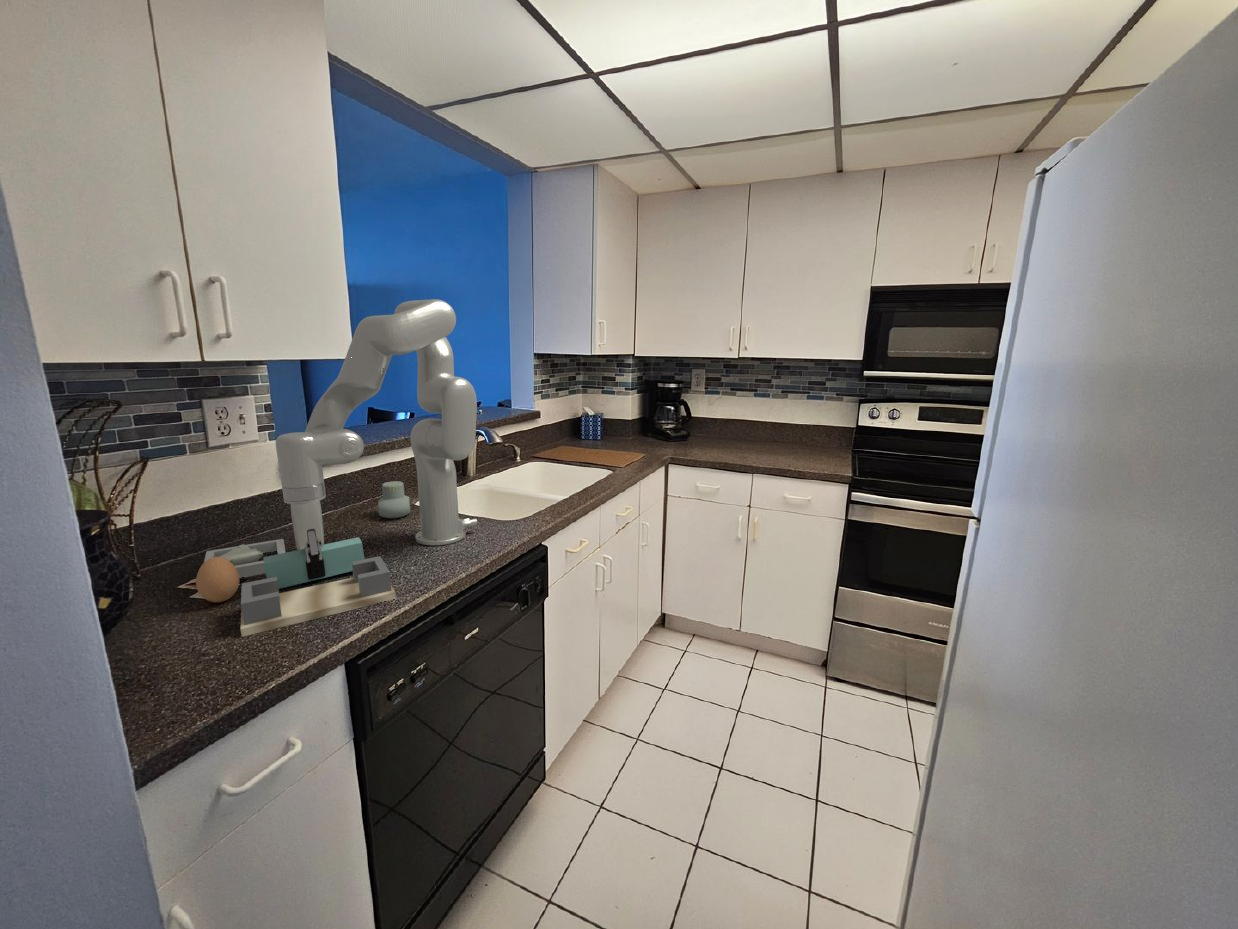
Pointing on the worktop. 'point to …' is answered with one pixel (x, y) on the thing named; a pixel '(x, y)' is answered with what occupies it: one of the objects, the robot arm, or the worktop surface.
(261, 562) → the parts tray
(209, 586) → the egg
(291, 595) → the base board
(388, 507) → the air freshener
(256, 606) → the grey slat holder
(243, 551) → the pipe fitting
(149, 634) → the worktop surface
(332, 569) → the slat
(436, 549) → the worktop surface
